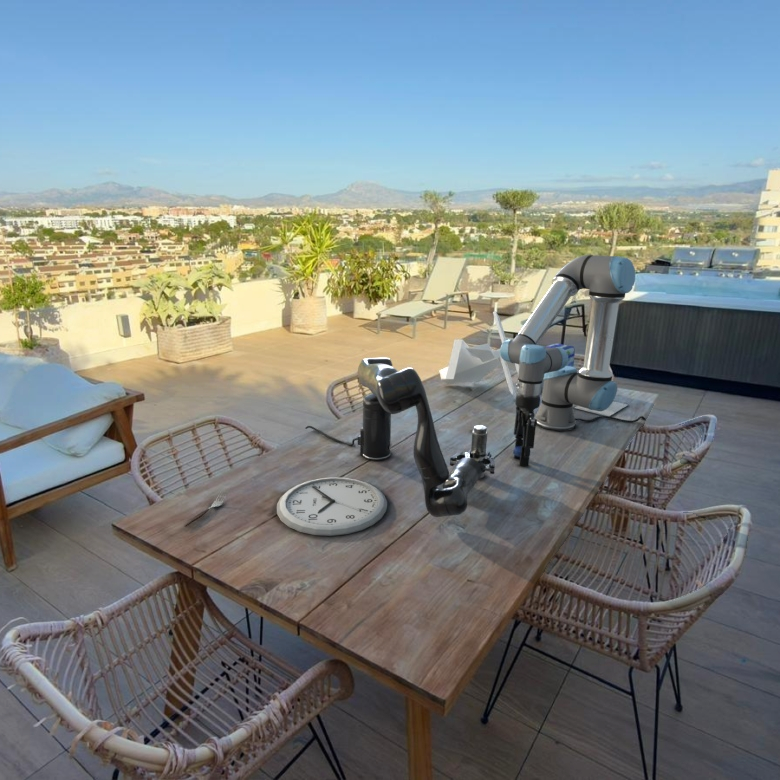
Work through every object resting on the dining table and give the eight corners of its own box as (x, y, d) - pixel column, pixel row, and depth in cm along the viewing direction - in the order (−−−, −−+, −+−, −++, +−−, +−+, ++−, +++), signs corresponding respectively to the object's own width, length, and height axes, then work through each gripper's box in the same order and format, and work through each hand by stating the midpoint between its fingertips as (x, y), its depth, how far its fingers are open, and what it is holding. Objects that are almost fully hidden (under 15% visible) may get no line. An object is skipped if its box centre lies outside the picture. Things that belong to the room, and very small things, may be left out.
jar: (482, 480, 159) (486, 430, 154) (467, 477, 160) (471, 428, 155) (485, 474, 163) (489, 425, 158) (471, 471, 164) (474, 423, 159)
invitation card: (608, 416, 214) (573, 407, 224) (608, 416, 214) (573, 408, 224) (628, 404, 229) (594, 396, 238) (628, 405, 229) (594, 397, 238)
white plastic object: (461, 429, 252) (437, 405, 227) (444, 352, 274) (420, 323, 250) (535, 404, 240) (518, 377, 215) (510, 326, 262) (492, 293, 237)
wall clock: (392, 527, 129) (268, 531, 127) (391, 533, 130) (269, 537, 127) (383, 473, 158) (282, 475, 155) (383, 478, 158) (282, 480, 156)
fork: (180, 527, 131) (179, 520, 130) (221, 497, 145) (220, 491, 145) (189, 529, 130) (188, 522, 130) (228, 499, 144) (228, 493, 144)
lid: (532, 453, 172) (532, 448, 171) (527, 459, 167) (527, 453, 167) (516, 449, 174) (516, 444, 174) (511, 455, 170) (511, 449, 169)
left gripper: (490, 468, 143) (504, 445, 158) (441, 458, 149) (458, 437, 164) (488, 492, 145) (502, 468, 160) (439, 482, 151) (457, 459, 166)
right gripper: (508, 385, 173) (502, 450, 180) (526, 403, 156) (518, 474, 163) (530, 385, 174) (523, 450, 181) (550, 403, 156) (541, 473, 163)
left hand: (480, 453), depth 162 cm, fingers closed on jar, 4 cm apart
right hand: (520, 461), depth 172 cm, fingers closed on lid, 5 cm apart
